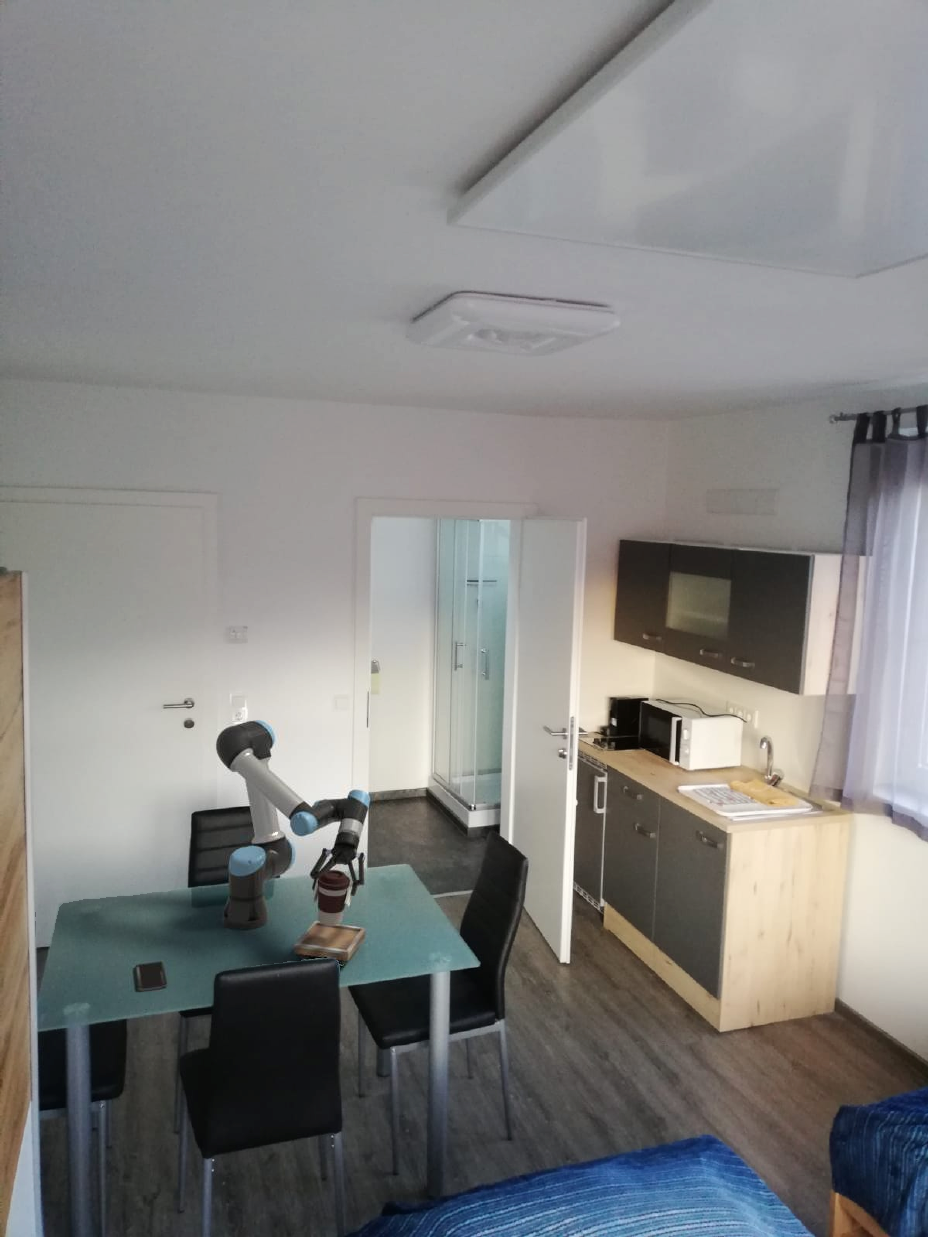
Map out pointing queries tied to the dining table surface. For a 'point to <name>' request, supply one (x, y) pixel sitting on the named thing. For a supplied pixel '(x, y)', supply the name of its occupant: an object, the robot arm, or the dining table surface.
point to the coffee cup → (332, 896)
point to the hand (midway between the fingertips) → (330, 903)
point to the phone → (150, 976)
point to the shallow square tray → (330, 941)
